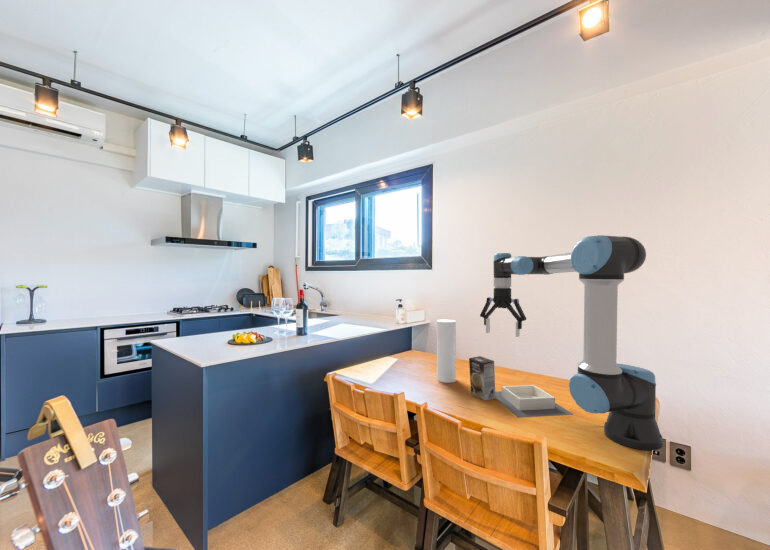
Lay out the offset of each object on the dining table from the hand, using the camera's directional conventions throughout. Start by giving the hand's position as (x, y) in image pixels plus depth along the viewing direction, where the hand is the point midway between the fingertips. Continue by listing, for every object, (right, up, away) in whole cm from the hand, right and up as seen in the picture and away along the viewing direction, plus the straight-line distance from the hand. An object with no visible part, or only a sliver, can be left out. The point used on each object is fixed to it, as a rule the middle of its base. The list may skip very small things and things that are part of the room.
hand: (502, 334), depth 149 cm
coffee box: (-11, -26, -7) cm, 28 cm away
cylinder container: (-22, -26, +16) cm, 38 cm away
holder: (+5, -25, -14) cm, 29 cm away
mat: (+5, -26, -14) cm, 30 cm away
